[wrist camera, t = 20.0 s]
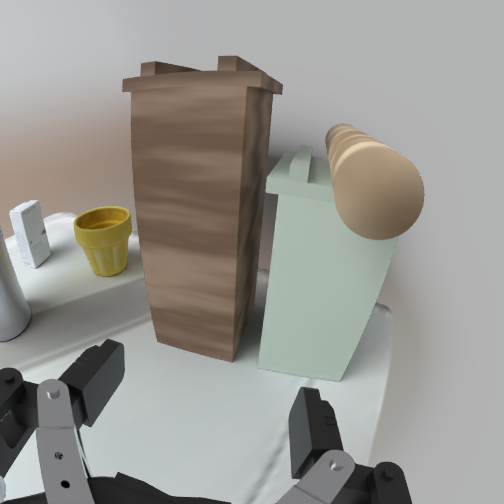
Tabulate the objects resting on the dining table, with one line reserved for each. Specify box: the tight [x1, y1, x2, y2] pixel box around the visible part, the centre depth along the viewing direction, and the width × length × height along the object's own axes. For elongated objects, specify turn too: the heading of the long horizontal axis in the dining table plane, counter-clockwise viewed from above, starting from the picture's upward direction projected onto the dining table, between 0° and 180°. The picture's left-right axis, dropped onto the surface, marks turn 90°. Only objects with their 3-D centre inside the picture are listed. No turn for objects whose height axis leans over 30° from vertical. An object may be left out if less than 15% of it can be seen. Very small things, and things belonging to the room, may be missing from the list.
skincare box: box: [9, 200, 51, 268], centre depth 43 cm, size 6×4×12 cm
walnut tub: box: [122, 56, 283, 362], centre depth 30 cm, size 12×12×31 cm
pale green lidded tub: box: [257, 145, 399, 382], centre depth 30 cm, size 12×12×23 cm
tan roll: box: [325, 124, 424, 240], centre depth 21 cm, size 22×4×4 cm, turn 167°
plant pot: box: [74, 206, 132, 276], centre depth 45 cm, size 10×10×10 cm
